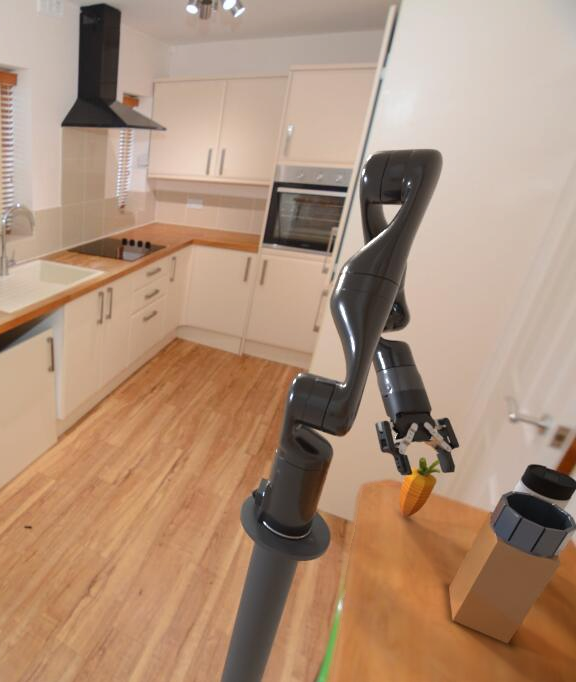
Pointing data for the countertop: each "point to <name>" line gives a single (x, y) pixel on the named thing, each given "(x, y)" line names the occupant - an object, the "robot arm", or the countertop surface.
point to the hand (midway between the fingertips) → (427, 473)
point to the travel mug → (547, 484)
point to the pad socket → (509, 564)
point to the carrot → (417, 487)
